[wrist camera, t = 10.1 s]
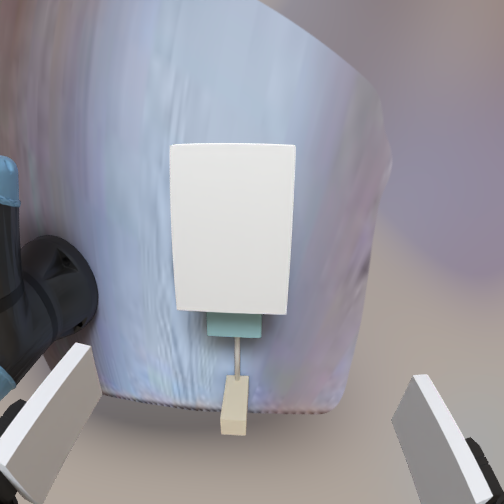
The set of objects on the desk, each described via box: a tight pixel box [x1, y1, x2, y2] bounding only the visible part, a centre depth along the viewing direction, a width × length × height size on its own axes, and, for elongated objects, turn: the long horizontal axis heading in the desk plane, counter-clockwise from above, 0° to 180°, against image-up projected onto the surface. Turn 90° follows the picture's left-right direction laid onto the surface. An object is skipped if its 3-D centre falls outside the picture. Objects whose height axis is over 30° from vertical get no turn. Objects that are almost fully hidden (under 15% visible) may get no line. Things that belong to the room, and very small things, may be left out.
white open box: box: [170, 143, 296, 315], centre depth 32 cm, size 10×15×10 cm
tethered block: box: [206, 312, 262, 436], centre depth 37 cm, size 6×20×9 cm, turn 179°
